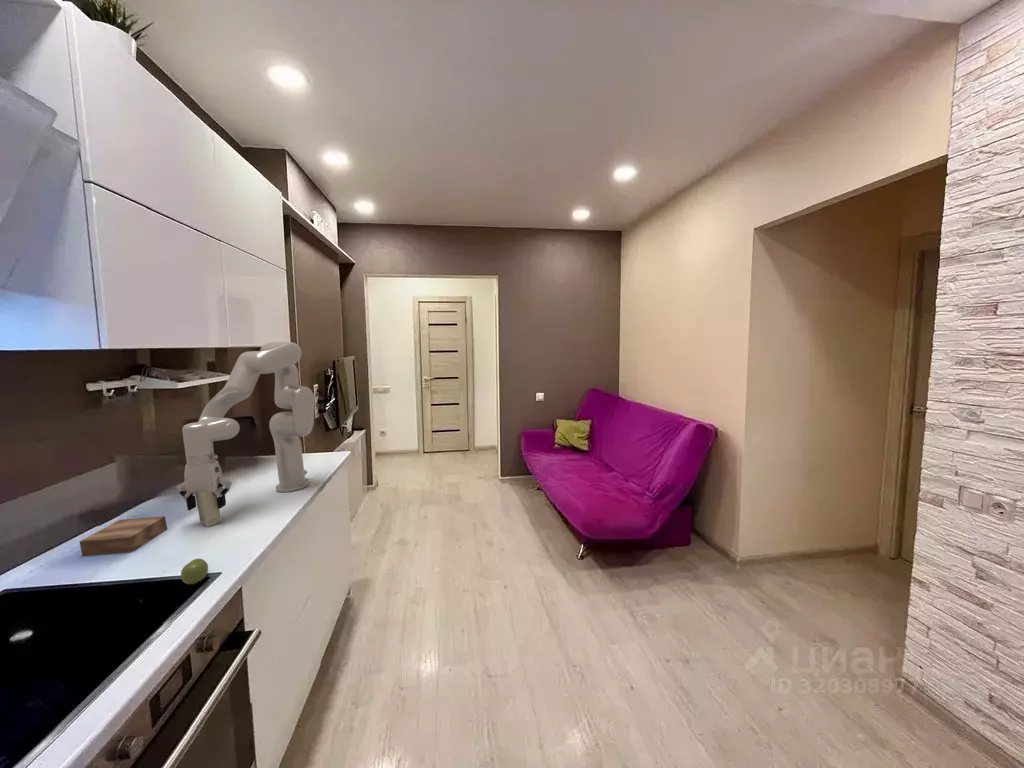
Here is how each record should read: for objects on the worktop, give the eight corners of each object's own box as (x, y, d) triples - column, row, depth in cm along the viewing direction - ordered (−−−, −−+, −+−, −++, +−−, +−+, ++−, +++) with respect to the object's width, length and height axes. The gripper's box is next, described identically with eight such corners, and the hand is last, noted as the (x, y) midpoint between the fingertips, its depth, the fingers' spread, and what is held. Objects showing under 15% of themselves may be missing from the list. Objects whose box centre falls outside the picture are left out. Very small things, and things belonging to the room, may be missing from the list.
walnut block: (122, 533, 136) (119, 519, 135) (167, 530, 137) (165, 516, 136) (82, 557, 122) (79, 541, 121) (133, 552, 123) (130, 537, 122)
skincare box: (221, 522, 140) (216, 488, 139) (207, 527, 137) (201, 492, 135) (214, 518, 144) (209, 484, 142) (199, 523, 140) (194, 489, 139)
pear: (177, 569, 102) (183, 558, 111) (180, 590, 102) (186, 577, 111) (205, 561, 105) (208, 551, 114) (208, 582, 105) (211, 570, 114)
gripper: (234, 454, 141) (239, 501, 143) (181, 457, 140) (188, 504, 142) (220, 461, 134) (226, 511, 136) (165, 464, 133) (172, 514, 135)
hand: (207, 507), depth 139 cm, fingers open, 9 cm apart
